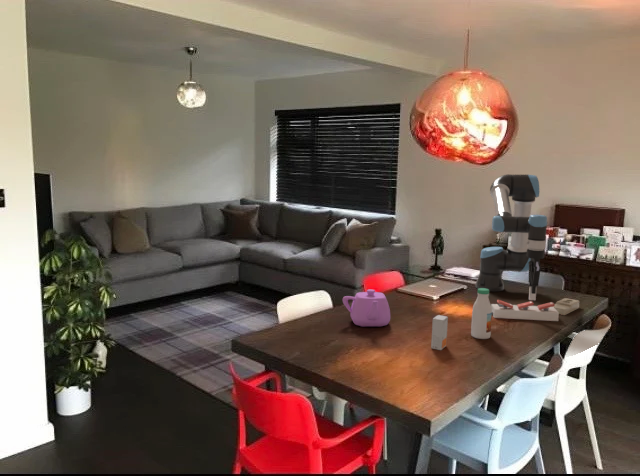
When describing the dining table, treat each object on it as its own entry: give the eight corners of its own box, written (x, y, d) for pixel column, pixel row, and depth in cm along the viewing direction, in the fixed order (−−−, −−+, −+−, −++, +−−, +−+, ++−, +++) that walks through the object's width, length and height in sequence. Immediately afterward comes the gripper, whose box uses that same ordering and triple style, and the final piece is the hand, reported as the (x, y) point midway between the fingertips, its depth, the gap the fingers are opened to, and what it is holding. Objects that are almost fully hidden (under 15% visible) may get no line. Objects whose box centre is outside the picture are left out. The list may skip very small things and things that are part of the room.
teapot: (340, 317, 241) (341, 285, 239) (386, 317, 242) (387, 285, 239) (344, 334, 219) (345, 298, 216) (395, 334, 219) (396, 298, 217)
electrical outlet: (549, 304, 253) (564, 297, 265) (549, 312, 253) (564, 305, 266) (565, 307, 248) (579, 300, 260) (564, 315, 248) (579, 308, 261)
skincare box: (441, 350, 201) (443, 320, 199) (430, 348, 203) (432, 318, 201) (446, 346, 206) (448, 316, 204) (436, 343, 208) (437, 314, 206)
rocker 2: (517, 306, 245) (516, 304, 245) (532, 303, 244) (531, 300, 244) (518, 308, 242) (518, 306, 242) (534, 305, 241) (533, 302, 241)
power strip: (475, 311, 253) (476, 300, 252) (552, 315, 248) (553, 304, 247) (478, 316, 244) (479, 306, 243) (558, 321, 239) (559, 310, 238)
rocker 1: (496, 301, 246) (497, 299, 246) (510, 306, 246) (511, 304, 246) (498, 303, 243) (499, 301, 243) (512, 308, 242) (513, 306, 242)
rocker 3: (537, 307, 244) (537, 305, 244) (552, 304, 243) (552, 301, 243) (539, 309, 241) (538, 307, 241) (554, 306, 239) (554, 303, 239)
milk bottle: (480, 340, 212) (483, 292, 209) (466, 334, 219) (469, 288, 216) (494, 337, 216) (497, 290, 213) (480, 332, 223) (483, 286, 220)
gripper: (523, 246, 245) (520, 295, 249) (530, 251, 233) (526, 303, 236) (540, 247, 244) (537, 296, 248) (548, 251, 232) (544, 304, 235)
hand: (532, 299), depth 242 cm, fingers closed
